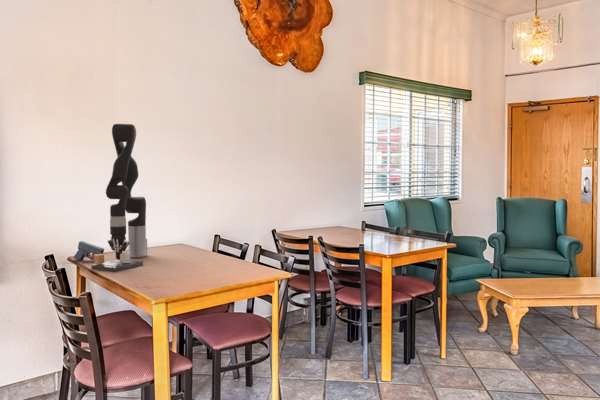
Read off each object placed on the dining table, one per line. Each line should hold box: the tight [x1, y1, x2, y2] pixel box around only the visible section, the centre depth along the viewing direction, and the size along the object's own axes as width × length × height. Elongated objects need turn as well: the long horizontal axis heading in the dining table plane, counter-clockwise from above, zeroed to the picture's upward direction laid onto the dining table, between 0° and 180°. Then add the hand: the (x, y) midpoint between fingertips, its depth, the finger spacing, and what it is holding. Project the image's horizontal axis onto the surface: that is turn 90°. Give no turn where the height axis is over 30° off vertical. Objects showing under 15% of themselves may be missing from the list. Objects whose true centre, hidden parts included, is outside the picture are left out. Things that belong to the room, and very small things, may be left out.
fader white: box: [120, 252, 131, 263], centre depth 240 cm, size 4×3×5 cm
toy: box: [73, 240, 105, 261], centre depth 256 cm, size 3×16×10 cm, turn 78°
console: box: [90, 258, 144, 273], centre depth 240 cm, size 18×16×2 cm
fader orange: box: [93, 253, 105, 264], centre depth 236 cm, size 4×3×5 cm
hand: (118, 259), depth 241 cm, fingers closed
